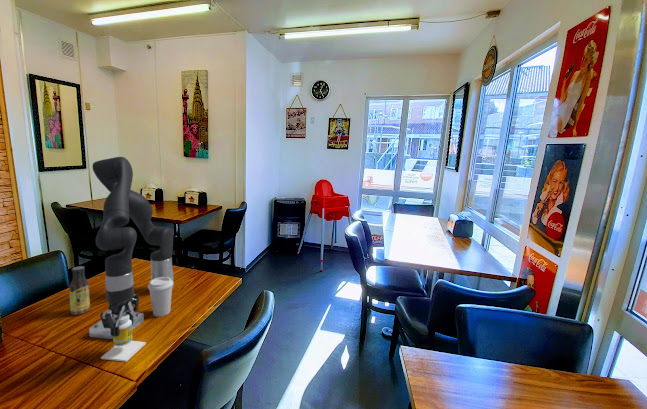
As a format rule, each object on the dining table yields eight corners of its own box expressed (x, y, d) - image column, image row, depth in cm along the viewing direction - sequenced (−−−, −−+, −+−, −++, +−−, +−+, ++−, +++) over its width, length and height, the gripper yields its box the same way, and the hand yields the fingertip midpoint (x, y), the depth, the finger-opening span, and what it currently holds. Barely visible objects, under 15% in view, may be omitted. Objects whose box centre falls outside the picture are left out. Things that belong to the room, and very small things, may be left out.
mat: (122, 341, 98) (122, 339, 98) (145, 343, 97) (145, 342, 97) (101, 358, 89) (100, 357, 89) (126, 361, 89) (126, 360, 88)
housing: (116, 318, 111) (116, 309, 110) (143, 321, 110) (143, 312, 110) (89, 336, 99) (89, 327, 99) (120, 339, 99) (119, 330, 98)
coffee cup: (179, 310, 119) (178, 279, 117) (158, 321, 111) (157, 287, 108) (165, 304, 123) (164, 274, 121) (144, 314, 115) (142, 282, 112)
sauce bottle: (78, 317, 110) (74, 272, 107) (66, 314, 111) (62, 270, 108) (94, 308, 117) (91, 266, 113) (83, 306, 118) (79, 264, 115)
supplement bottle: (115, 339, 94) (114, 314, 93) (133, 335, 96) (133, 311, 95) (111, 348, 89) (110, 322, 88) (130, 345, 91) (129, 319, 90)
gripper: (126, 275, 97) (128, 317, 99) (89, 294, 82) (93, 343, 85) (146, 277, 96) (147, 319, 99) (112, 296, 82) (115, 345, 85)
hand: (122, 330), depth 92 cm, fingers closed on supplement bottle, 5 cm apart
